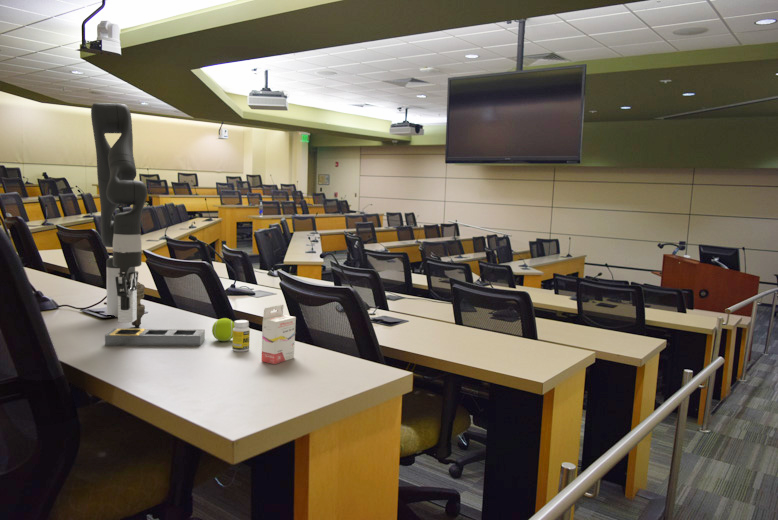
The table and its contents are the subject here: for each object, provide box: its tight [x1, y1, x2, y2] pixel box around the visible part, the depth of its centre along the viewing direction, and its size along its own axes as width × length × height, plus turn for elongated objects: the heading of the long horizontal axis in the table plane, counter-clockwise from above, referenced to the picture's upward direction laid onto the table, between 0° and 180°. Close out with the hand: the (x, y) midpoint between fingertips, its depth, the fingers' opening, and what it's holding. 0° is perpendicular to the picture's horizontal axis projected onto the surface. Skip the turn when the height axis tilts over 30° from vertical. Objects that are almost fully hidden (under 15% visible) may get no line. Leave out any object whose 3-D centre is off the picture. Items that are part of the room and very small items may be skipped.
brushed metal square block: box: [117, 289, 137, 323], centre depth 162 cm, size 4×4×9 cm
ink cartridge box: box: [261, 304, 297, 365], centre depth 152 cm, size 9×5×15 cm, turn 152°
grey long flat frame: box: [104, 328, 206, 347], centre depth 165 cm, size 8×26×3 cm, turn 99°
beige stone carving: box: [131, 281, 146, 328], centre depth 181 cm, size 6×6×15 cm
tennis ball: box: [211, 317, 235, 342], centre depth 170 cm, size 7×7×7 cm
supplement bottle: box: [232, 319, 251, 353], centre depth 161 cm, size 5×5×8 cm
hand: (127, 308), depth 162 cm, fingers closed on brushed metal square block, 4 cm apart
